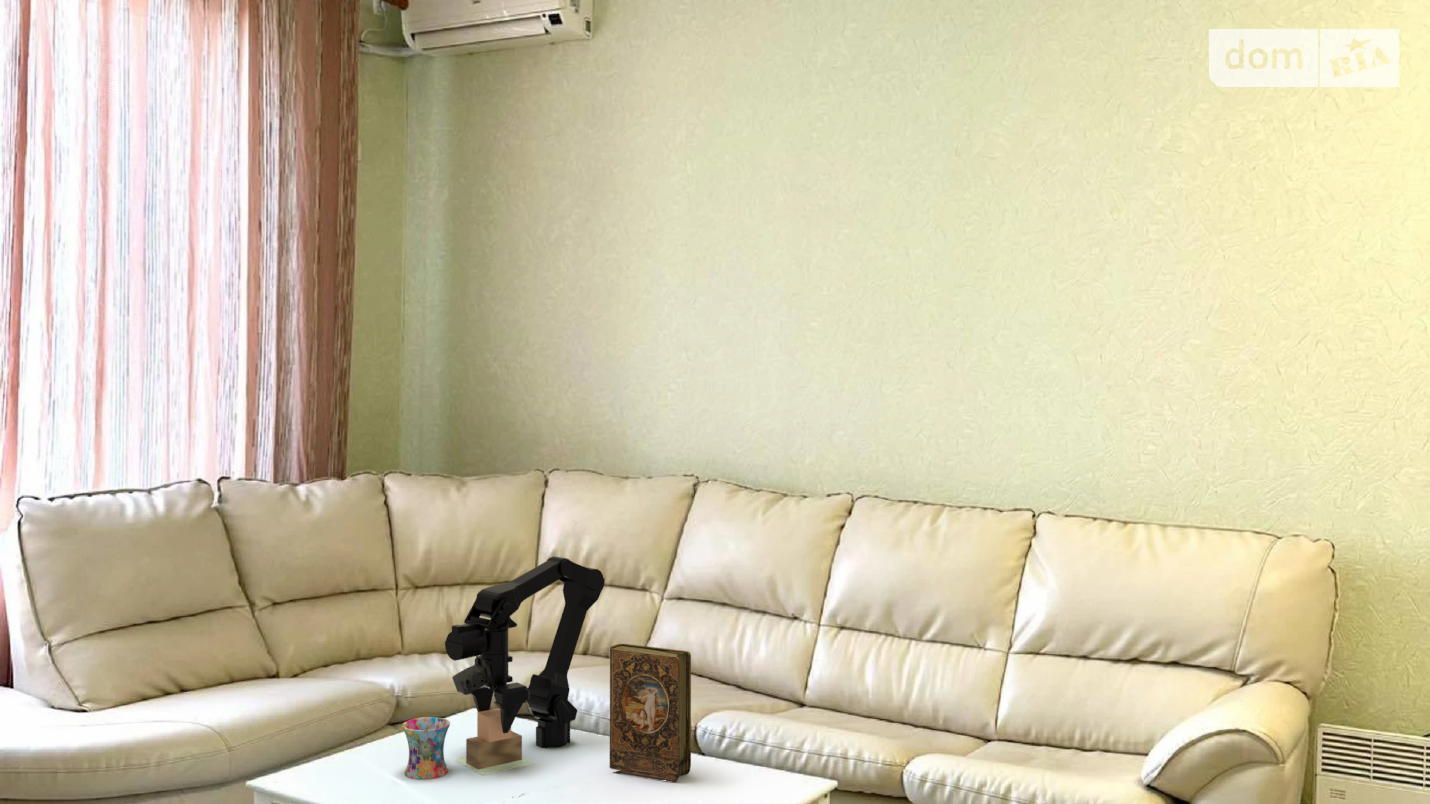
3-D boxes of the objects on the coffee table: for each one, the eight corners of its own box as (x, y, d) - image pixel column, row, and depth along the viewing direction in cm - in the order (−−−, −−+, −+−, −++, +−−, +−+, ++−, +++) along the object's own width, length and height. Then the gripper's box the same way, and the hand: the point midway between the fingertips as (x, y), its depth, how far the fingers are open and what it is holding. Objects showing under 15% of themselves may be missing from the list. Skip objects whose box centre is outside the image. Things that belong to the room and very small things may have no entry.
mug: (437, 786, 256) (437, 732, 256) (393, 781, 258) (393, 728, 258) (464, 767, 268) (463, 715, 267) (422, 762, 270) (422, 711, 269)
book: (605, 771, 265) (605, 648, 264) (618, 763, 270) (619, 643, 269) (678, 783, 258) (679, 657, 257) (690, 775, 263) (691, 651, 262)
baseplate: (505, 752, 277) (505, 748, 277) (534, 767, 268) (534, 763, 268) (453, 763, 270) (453, 759, 270) (482, 779, 260) (482, 775, 260)
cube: (477, 736, 269) (477, 712, 269) (499, 732, 272) (499, 708, 272) (489, 742, 265) (489, 717, 265) (511, 737, 268) (511, 713, 268)
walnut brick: (509, 753, 274) (509, 729, 273) (521, 759, 270) (521, 735, 270) (466, 763, 268) (466, 738, 267) (478, 769, 264) (478, 744, 263)
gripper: (436, 648, 270) (437, 723, 271) (480, 666, 255) (481, 746, 256) (485, 641, 277) (485, 714, 278) (531, 658, 262) (531, 735, 263)
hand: (494, 727), depth 268 cm, fingers open, 9 cm apart
